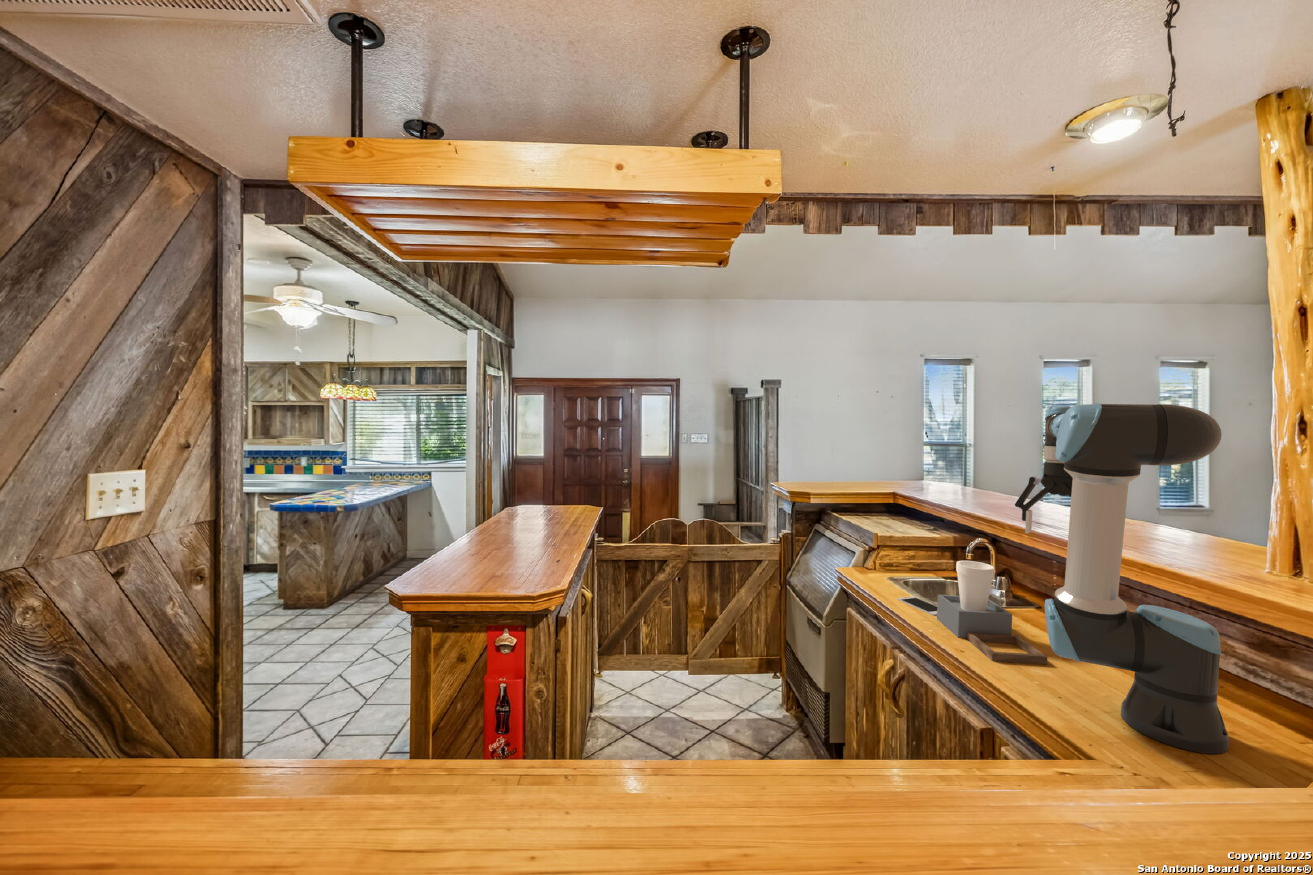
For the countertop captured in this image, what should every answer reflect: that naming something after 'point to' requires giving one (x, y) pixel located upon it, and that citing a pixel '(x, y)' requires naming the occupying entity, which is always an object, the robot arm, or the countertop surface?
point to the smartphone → (920, 605)
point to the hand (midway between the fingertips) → (1056, 537)
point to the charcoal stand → (972, 618)
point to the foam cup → (974, 584)
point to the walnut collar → (1032, 656)
